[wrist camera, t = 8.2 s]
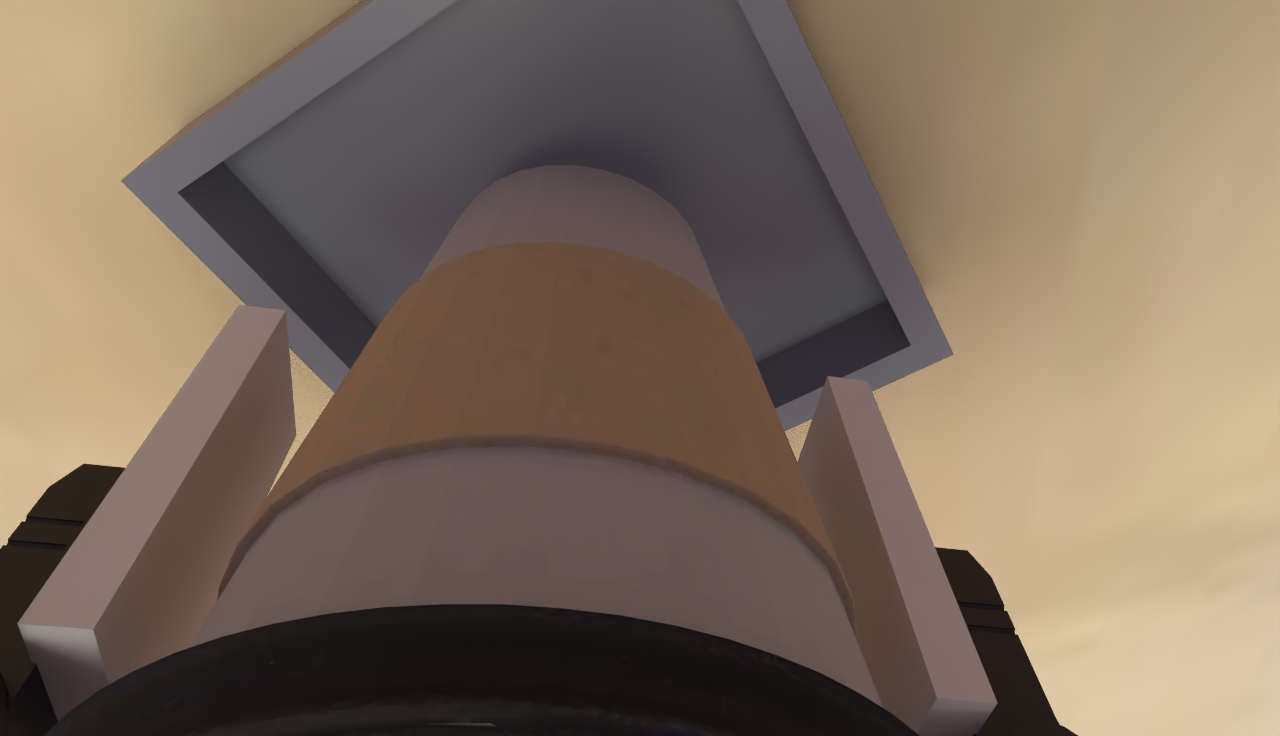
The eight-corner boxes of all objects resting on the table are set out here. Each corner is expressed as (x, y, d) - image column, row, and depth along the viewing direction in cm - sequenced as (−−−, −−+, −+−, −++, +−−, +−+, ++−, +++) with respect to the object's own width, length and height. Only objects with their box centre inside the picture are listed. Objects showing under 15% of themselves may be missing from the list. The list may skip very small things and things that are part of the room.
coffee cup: (795, 414, 22) (1024, 1259, 10) (433, 469, 23) (210, 1315, 10) (756, 27, 16) (1161, 812, 4) (284, 118, 17) (-544, 1000, 5)
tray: (673, -222, 17) (682, -219, 15) (918, 293, 24) (953, 354, 21) (179, 131, 21) (120, 180, 18) (512, 488, 28) (502, 559, 25)
